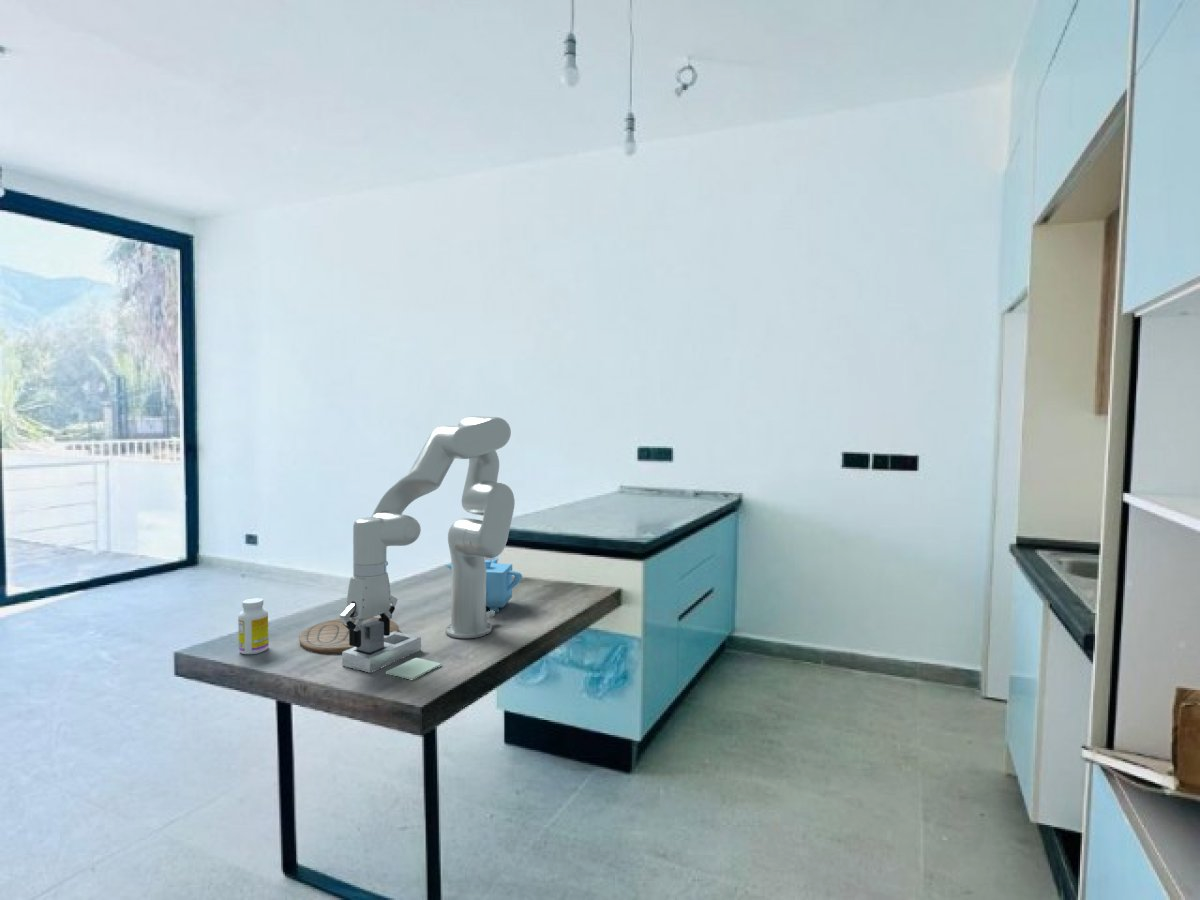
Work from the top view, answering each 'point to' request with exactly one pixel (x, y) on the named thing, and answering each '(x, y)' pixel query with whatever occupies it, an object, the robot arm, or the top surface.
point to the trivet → (331, 636)
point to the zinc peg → (371, 637)
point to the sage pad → (413, 668)
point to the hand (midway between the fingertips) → (370, 640)
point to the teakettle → (499, 583)
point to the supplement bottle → (253, 627)
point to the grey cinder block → (382, 652)
